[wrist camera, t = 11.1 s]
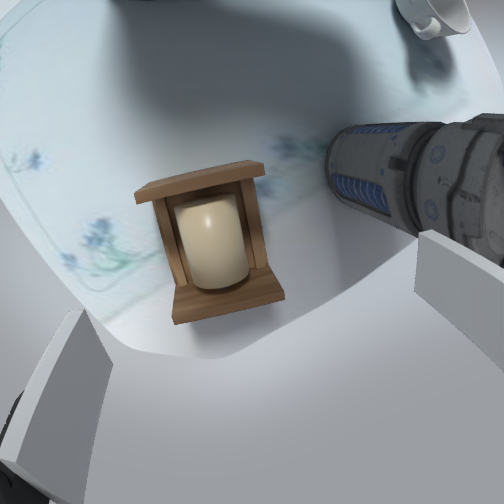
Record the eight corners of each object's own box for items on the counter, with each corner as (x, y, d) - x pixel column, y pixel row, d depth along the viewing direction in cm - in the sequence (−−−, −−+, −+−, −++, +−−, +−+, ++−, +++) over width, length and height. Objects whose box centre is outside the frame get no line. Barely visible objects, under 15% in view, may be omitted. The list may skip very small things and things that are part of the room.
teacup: (401, -25, 24) (432, -43, 17) (447, 24, 28) (480, 15, 20) (362, 9, 26) (395, -12, 19) (416, 66, 30) (455, 58, 22)
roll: (188, 195, 31) (162, 211, 26) (241, 187, 30) (223, 201, 24) (205, 265, 34) (184, 290, 29) (255, 261, 33) (241, 289, 27)
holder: (149, 182, 30) (133, 193, 23) (248, 160, 31) (263, 163, 24) (178, 288, 35) (174, 325, 28) (267, 268, 36) (285, 299, 29)
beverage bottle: (344, 236, 36) (498, 349, 13) (304, 138, 31) (498, 144, 8) (403, 202, 36) (561, 271, 13) (372, 109, 31) (556, 104, 8)
